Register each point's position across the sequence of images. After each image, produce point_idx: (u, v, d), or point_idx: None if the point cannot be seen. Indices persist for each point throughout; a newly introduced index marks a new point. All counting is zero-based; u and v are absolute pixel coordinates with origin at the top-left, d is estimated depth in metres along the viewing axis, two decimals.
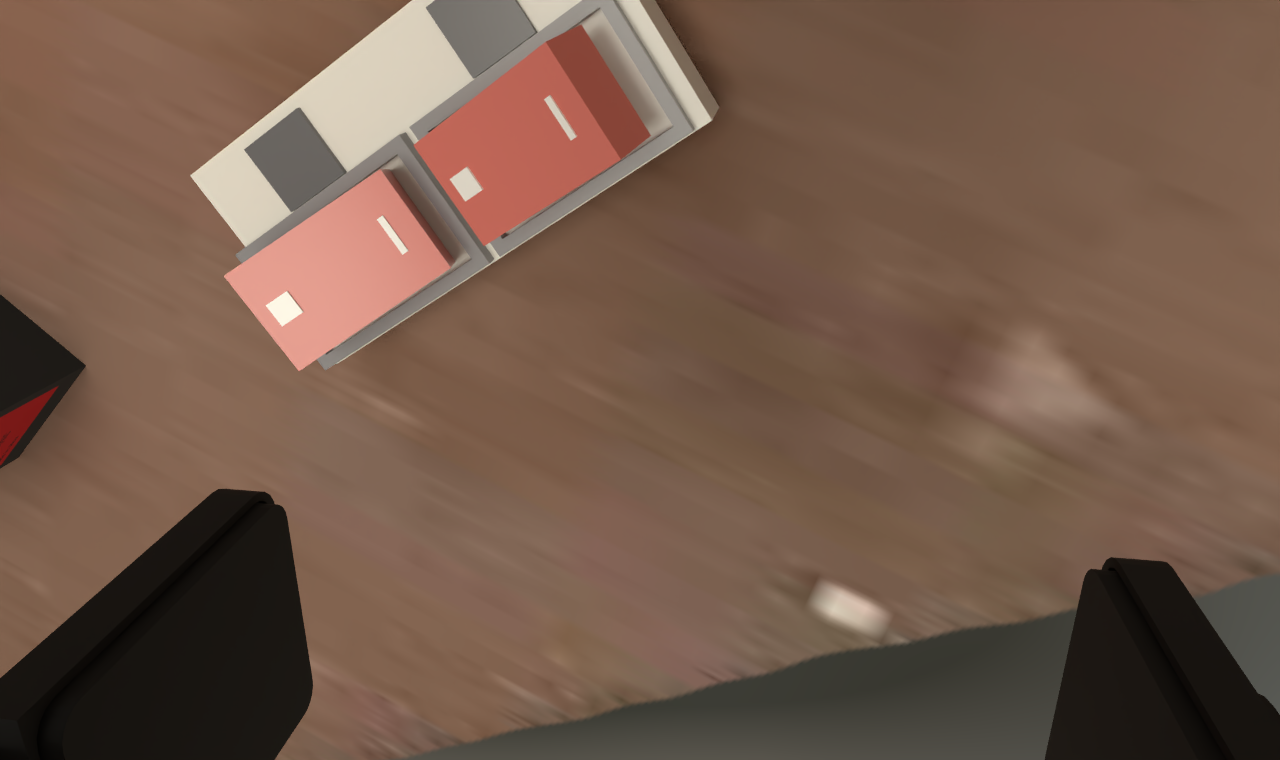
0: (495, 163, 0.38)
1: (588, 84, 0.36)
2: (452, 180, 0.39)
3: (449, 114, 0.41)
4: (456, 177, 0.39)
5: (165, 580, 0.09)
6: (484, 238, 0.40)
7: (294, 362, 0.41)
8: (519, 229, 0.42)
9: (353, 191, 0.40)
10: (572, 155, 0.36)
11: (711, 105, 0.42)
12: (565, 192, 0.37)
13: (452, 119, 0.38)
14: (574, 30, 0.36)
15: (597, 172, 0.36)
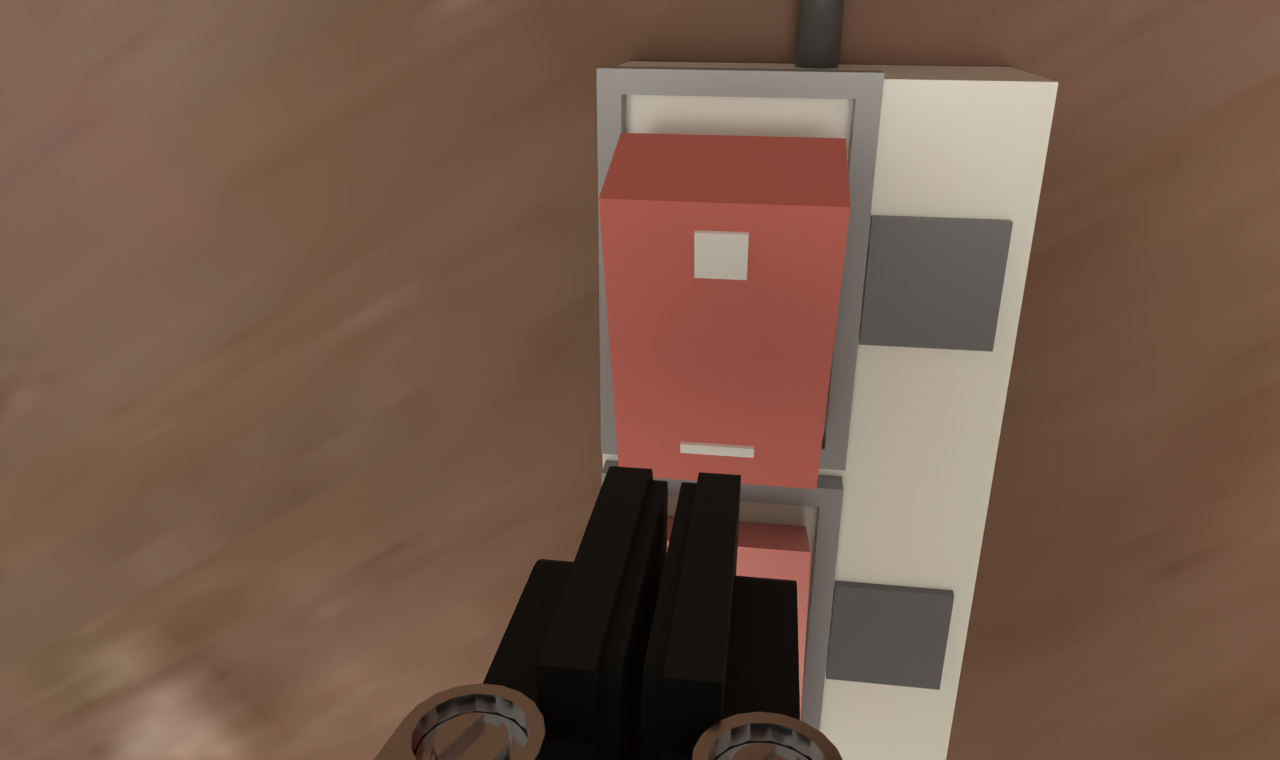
0: None
1: None
2: None
3: (817, 546, 0.27)
4: None
5: (625, 548, 0.10)
6: None
7: (618, 203, 0.19)
8: None
9: (815, 446, 0.23)
10: None
11: None
12: None
13: (799, 644, 0.25)
14: None
15: None
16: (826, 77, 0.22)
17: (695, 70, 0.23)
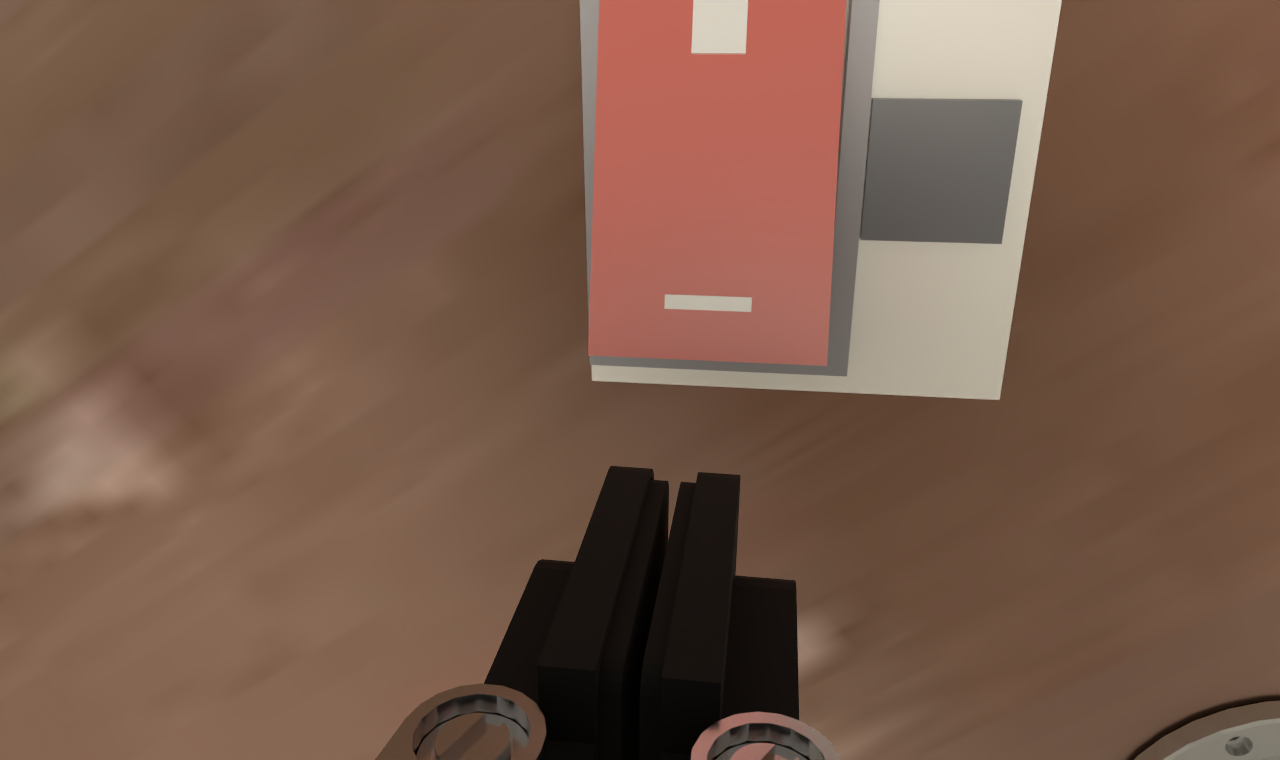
0: (716, 118, 0.19)
1: None
2: (743, 0, 0.19)
3: (852, 26, 0.21)
4: (743, 11, 0.19)
5: (626, 548, 0.10)
6: None
7: None
8: None
9: None
10: (641, 275, 0.20)
11: None
12: (595, 215, 0.20)
13: (834, 90, 0.19)
14: None
15: (592, 299, 0.20)
16: None
17: None
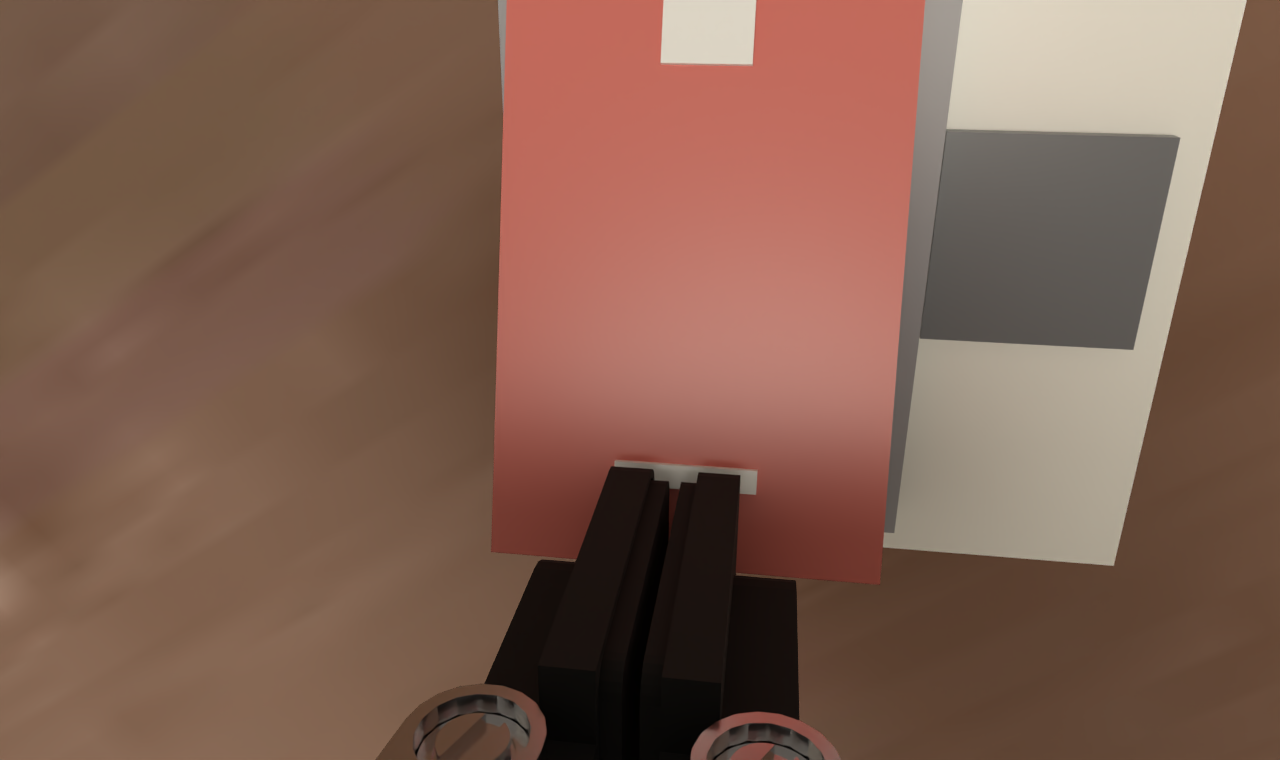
0: (702, 172, 0.12)
1: None
2: None
3: None
4: None
5: (626, 548, 0.10)
6: None
7: None
8: None
9: None
10: (578, 427, 0.12)
11: None
12: (503, 328, 0.12)
13: (902, 130, 0.11)
14: None
15: (498, 462, 0.12)
16: None
17: None
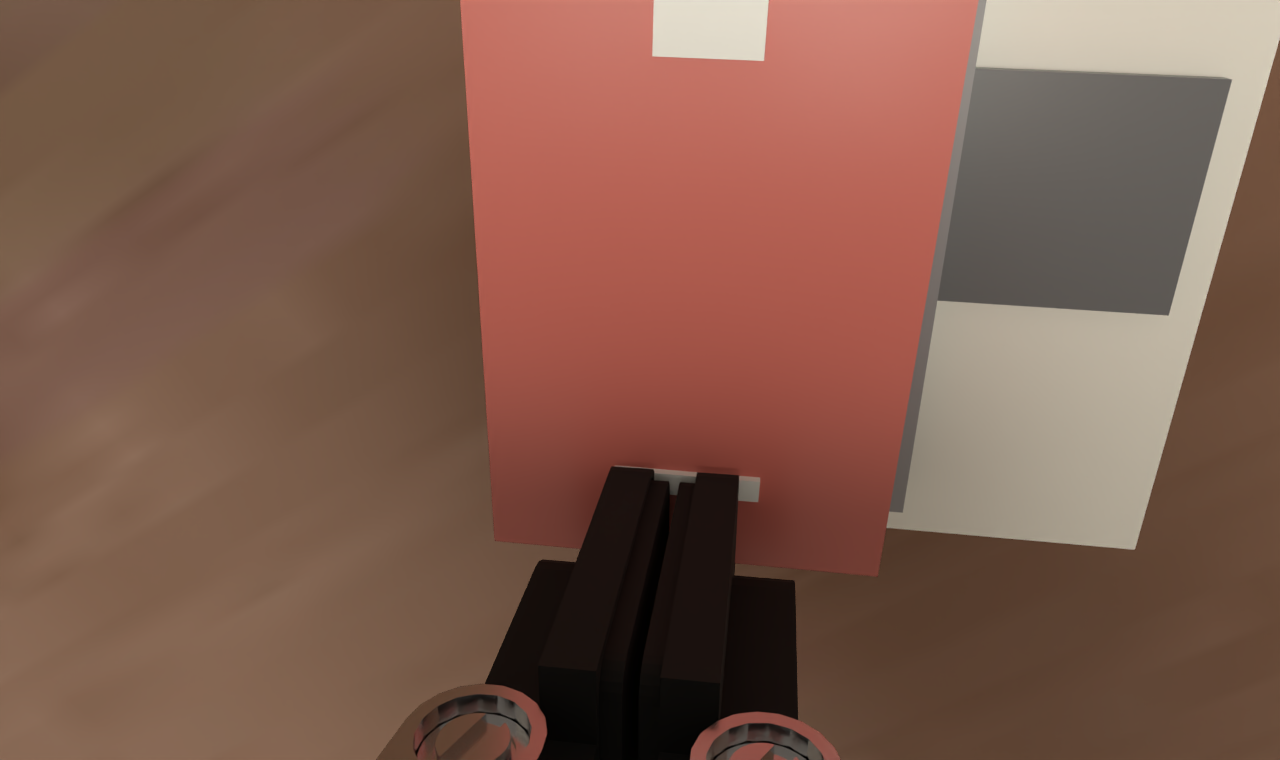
0: (703, 182, 0.10)
1: None
2: None
3: None
4: None
5: (627, 548, 0.10)
6: None
7: None
8: None
9: None
10: (575, 436, 0.12)
11: None
12: (487, 341, 0.11)
13: (938, 139, 0.09)
14: None
15: (495, 465, 0.12)
16: None
17: None
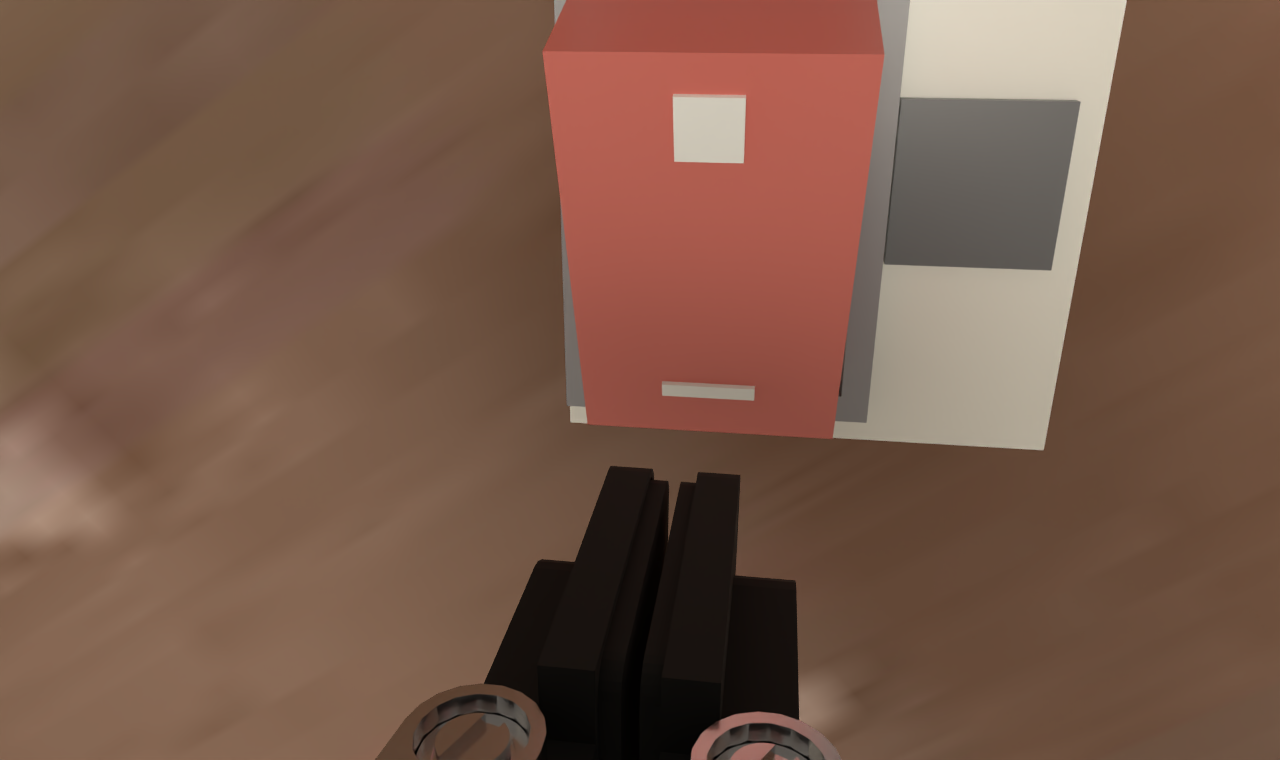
0: (709, 226, 0.16)
1: None
2: (739, 102, 0.14)
3: (878, 11, 0.18)
4: (739, 109, 0.14)
5: (626, 548, 0.10)
6: (561, 68, 0.14)
7: None
8: None
9: None
10: (635, 366, 0.18)
11: None
12: (578, 314, 0.18)
13: (854, 201, 0.15)
14: None
15: (585, 382, 0.19)
16: None
17: None
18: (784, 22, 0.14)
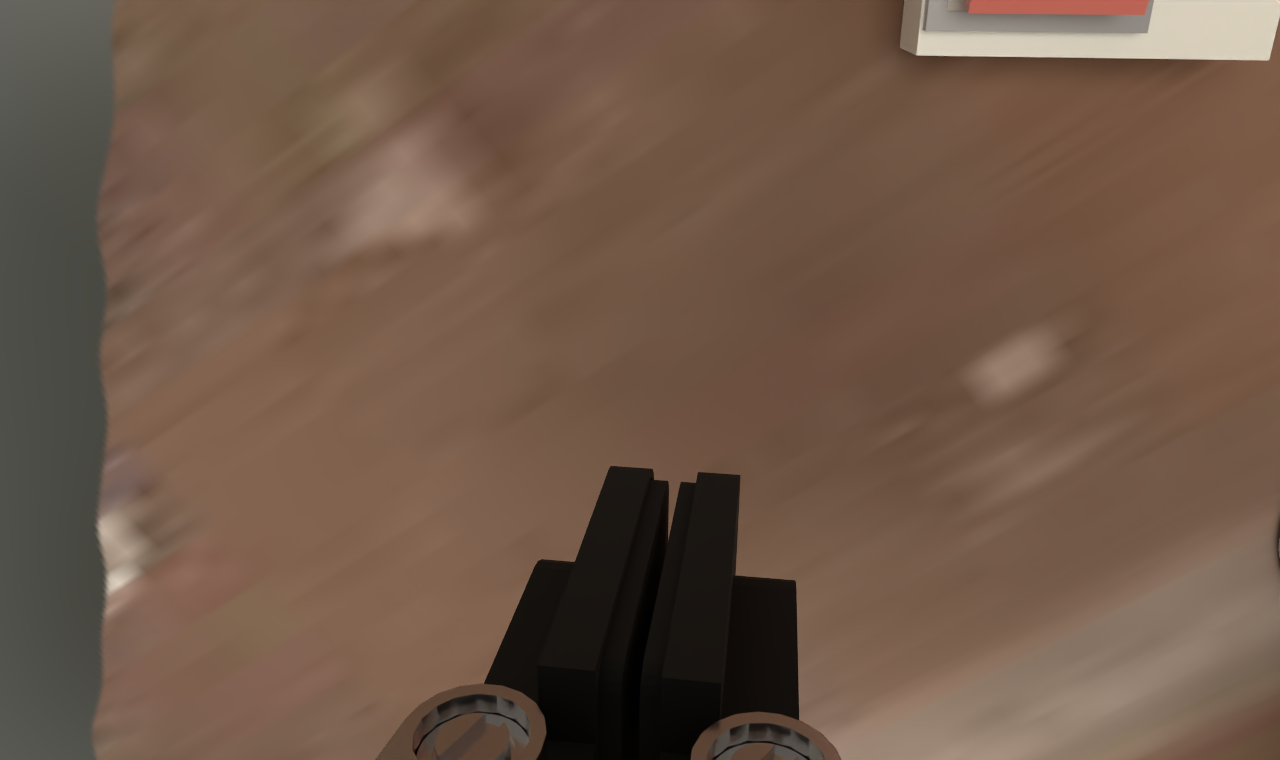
0: None
1: None
2: None
3: None
4: None
5: (626, 548, 0.10)
6: None
7: None
8: None
9: None
10: None
11: None
12: None
13: None
14: None
15: None
16: None
17: None
18: None
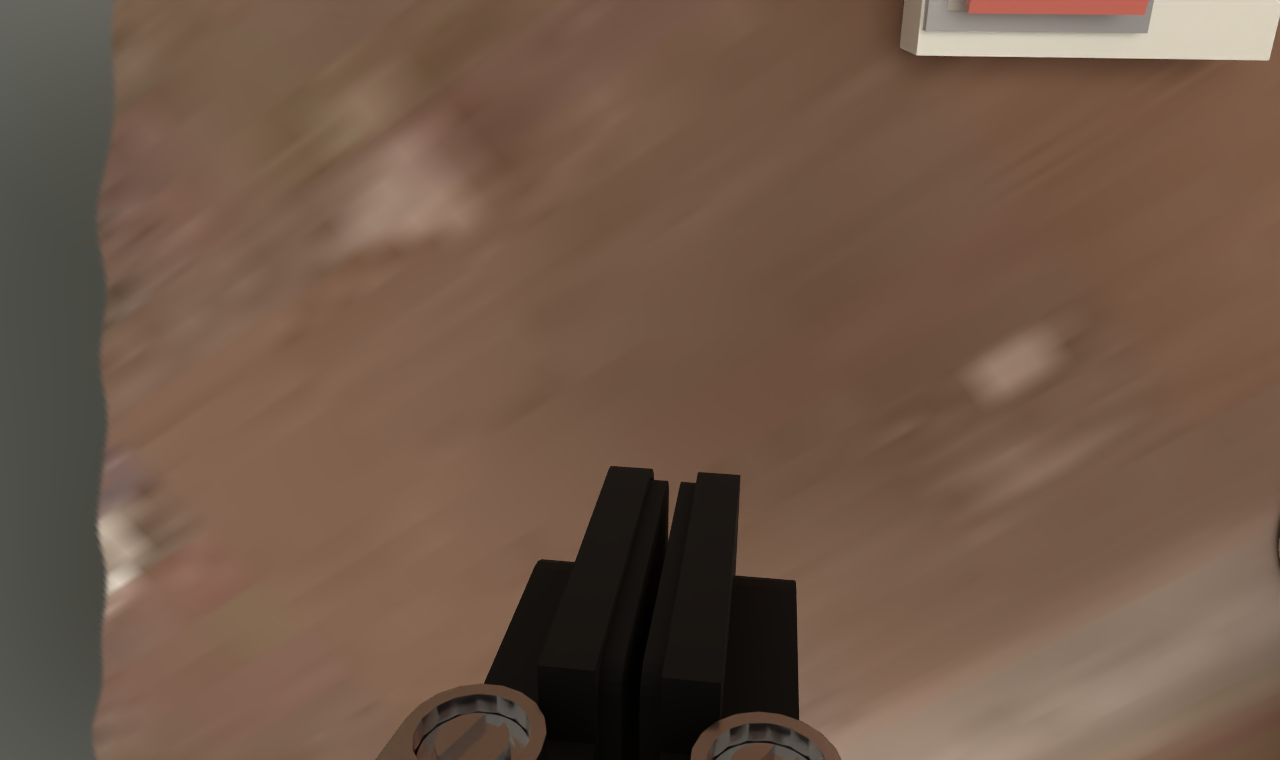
0: None
1: None
2: None
3: None
4: None
5: (626, 548, 0.10)
6: None
7: None
8: None
9: None
10: None
11: None
12: None
13: None
14: None
15: None
16: None
17: None
18: None
